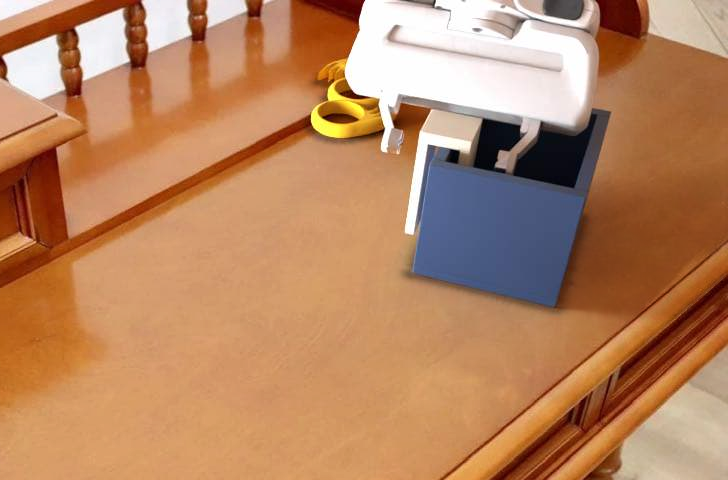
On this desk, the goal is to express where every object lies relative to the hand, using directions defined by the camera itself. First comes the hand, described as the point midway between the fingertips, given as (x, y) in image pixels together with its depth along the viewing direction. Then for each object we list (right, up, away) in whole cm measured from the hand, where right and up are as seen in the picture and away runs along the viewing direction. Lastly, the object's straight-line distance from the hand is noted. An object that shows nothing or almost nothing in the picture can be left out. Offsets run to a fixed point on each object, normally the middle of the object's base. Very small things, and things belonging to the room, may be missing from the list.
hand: (445, 163), depth 90 cm
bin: (+6, -6, +6) cm, 10 cm away
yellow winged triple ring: (-4, +11, +25) cm, 27 cm away
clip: (0, -5, +5) cm, 7 cm away
